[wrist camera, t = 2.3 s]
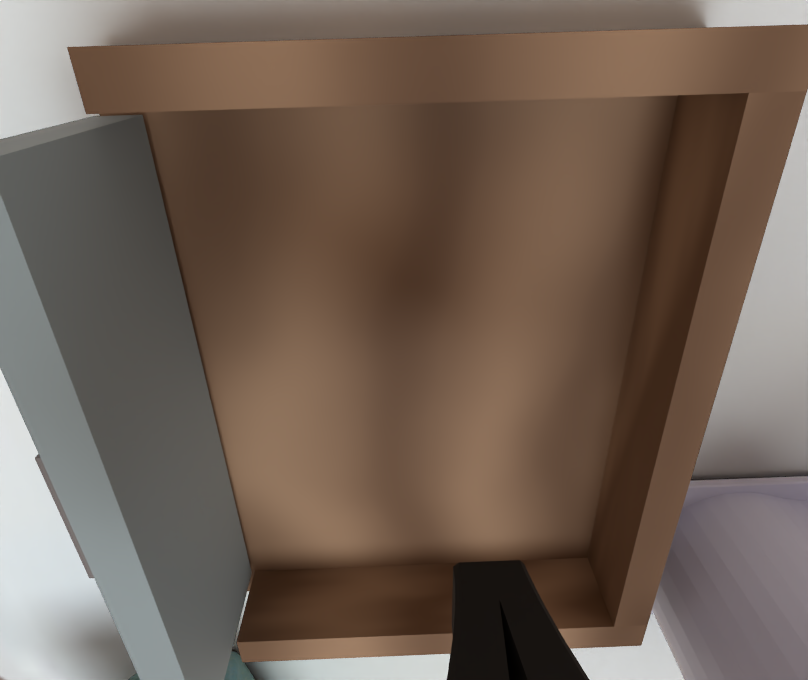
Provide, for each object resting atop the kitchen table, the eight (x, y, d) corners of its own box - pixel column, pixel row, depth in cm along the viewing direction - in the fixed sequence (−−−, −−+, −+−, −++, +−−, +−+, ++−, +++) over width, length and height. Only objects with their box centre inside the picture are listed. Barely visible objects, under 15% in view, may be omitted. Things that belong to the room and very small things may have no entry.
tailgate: (142, 114, 14) (-13, 159, 8) (251, 572, 22) (208, 741, 16) (61, 117, 14) (-146, 163, 8) (201, 574, 22) (142, 744, 16)
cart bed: (707, 29, 15) (826, 24, 11) (599, 547, 24) (641, 645, 20) (109, 47, 14) (5, 49, 10) (238, 561, 24) (209, 663, 20)
